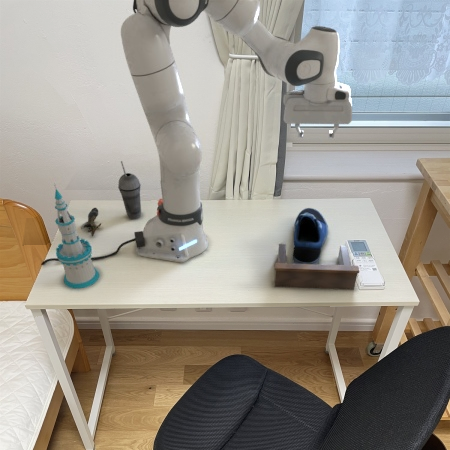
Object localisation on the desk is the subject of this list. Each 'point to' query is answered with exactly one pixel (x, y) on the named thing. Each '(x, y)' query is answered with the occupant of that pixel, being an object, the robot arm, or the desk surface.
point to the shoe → (309, 236)
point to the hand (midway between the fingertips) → (315, 137)
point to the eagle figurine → (91, 221)
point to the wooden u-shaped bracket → (316, 273)
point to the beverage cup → (130, 194)
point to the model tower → (73, 250)
